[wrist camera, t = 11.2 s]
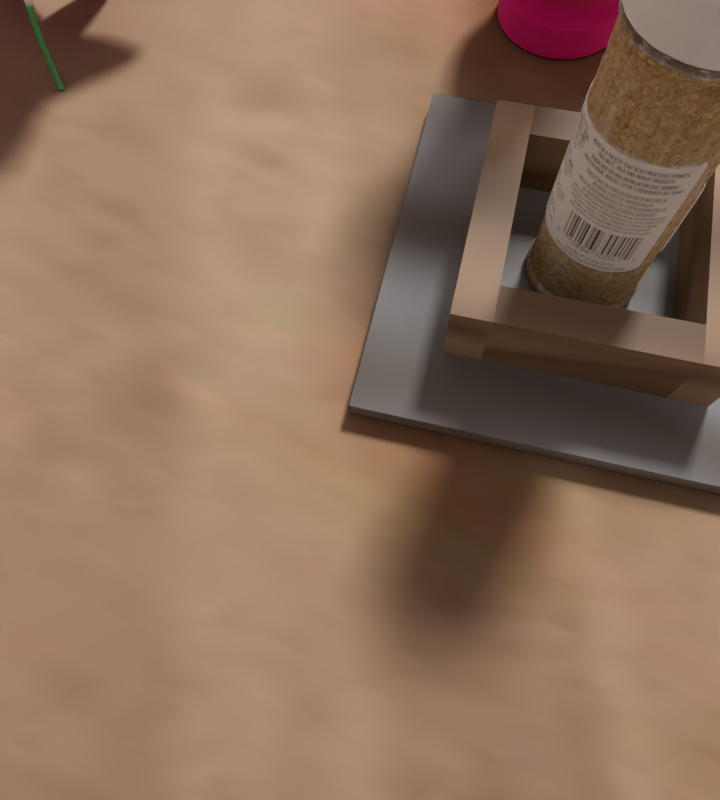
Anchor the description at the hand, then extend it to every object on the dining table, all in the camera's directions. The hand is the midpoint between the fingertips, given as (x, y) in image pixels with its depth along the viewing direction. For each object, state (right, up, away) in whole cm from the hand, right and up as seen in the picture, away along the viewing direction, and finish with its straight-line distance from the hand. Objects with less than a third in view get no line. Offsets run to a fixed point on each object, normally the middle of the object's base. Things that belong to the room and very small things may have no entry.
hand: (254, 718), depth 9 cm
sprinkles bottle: (+10, +10, +17) cm, 22 cm away
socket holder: (+11, +9, +18) cm, 23 cm away
